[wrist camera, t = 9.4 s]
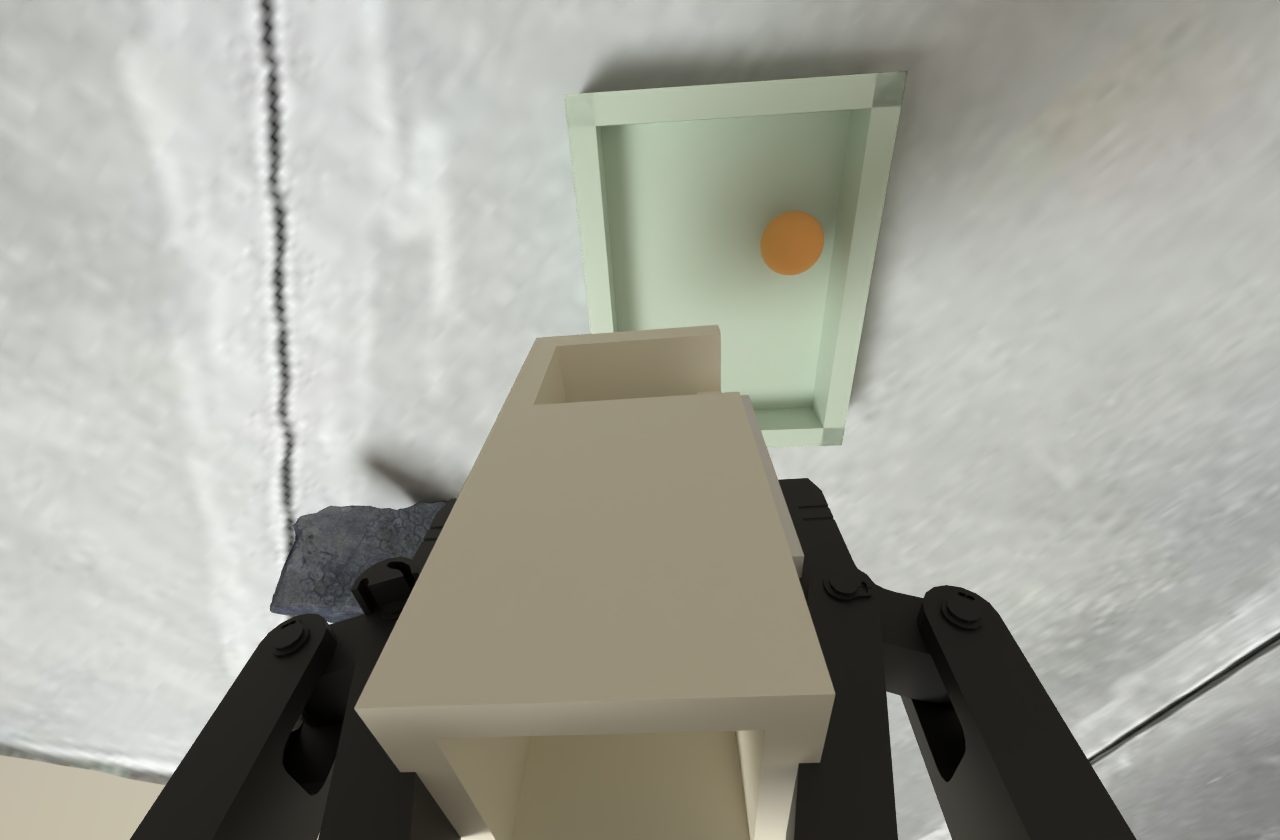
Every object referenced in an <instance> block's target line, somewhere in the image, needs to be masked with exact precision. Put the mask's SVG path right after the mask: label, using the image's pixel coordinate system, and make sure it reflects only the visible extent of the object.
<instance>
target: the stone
mask: <svg viewBox="0 0 1280 840" xmlns="http://www.w3.org/2000/svg"><path fill="white" fill-rule="evenodd" d="M445 504H446V502H444V501H441V502H434V503H431V504H430V503H427V502H419V503H417V504H415V505H413V506H411V507H408V508H404V509H398V510H394V509H391V508H383V509H380V508H375V507H372V506H345V507H337V506H329V507H327V508H325V509H323V510H321V511H319V512H317V513H313V514H308V515H304V516H301V517H299V518H298V520H297V522H296V523H295V524H294V525H293V527H294V530H295V534H296V536H295V542H294V545H293V547H292V549H291V551H290V553H289V555H288V557H287V560H286V562H285V564H284V567H283V569H282V572H281V576H280V579H279V581H278V584H277V587H276V590H275V594H274V595H273V599H272V603H271V605H270V611H271V612H273V613H277V614H282V615H303V614H307V613H312V614H319V615H320V616H322V617H323V618H324V619H325V620H326V621H328V622H330V623H336V622H340V621H343V620H346V619H349V618H353V617H356V616H359V615H362V614H364V612H363V610H362V609H361V607H360V605H359V604H358V602H357V600H356V599H355V597H354V595H353V594H352V592H351V588H352V586H353V584H354V582H355V580H356V579H357V578H358V577H359V576H360V575H361V574H362V573H363V572H364V571H365V570H366V569H368V568H369V567H371V566H373V565H374V564H376V563H378V562H380V561H383V560H385V559H388V558H394V557H405V558H410V559H411V560H412V559H413V557H414V555H415V554H416V552H417V550H418V548H419V546H420V544H421V542H423V538H424V536H425V535H426V533H427V531H428V530H430V525H431V523H432V521H433V519H434V517H435V516H436V514H437V512H438V511H439V510H440V509H441V508H442V507H443V506H444V505H445Z"/></svg>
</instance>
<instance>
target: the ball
mask: <svg viewBox="0 0 1280 840" xmlns="http://www.w3.org/2000/svg"><path fill="white" fill-rule="evenodd" d="M823 246H824V234H823V230H822V228H821V225H820V224H819V222H818V221H817V220H816V219H815V218H814V217H813V216H811V215H810V214H808V213H806V212H802V211H789V212H785V213H782V214H780V215H778V216H777V217H775V218H774V219H773V220H772V221H771V222H770V223H769V224H768V225H767V227H766V228H765V230H764V232H763V235H762V238H761V244H760V249H761V255H762V257H763V260H764V262H765V263H766V265H767V266H768V267H769V268H770V269H771V270H773V271H774V272H776V273H779V274H782V275H797V274H800V273H802V272H805V271H806V270H808V269H809V268H811V267H812V266H813V265H814V264H815V263H816V262H817V260H818V259H819V257H820V255H821V253H822V250H823Z"/></svg>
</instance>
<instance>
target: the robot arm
mask: <svg viewBox="0 0 1280 840" xmlns="http://www.w3.org/2000/svg"><path fill="white" fill-rule="evenodd" d="M741 399H742V402H743V405H744V408H745V411H746V414H747V417H748V421H749V424H750V427H751V430H752V433H753V436H754V439H755V443H756V446H757V449H758V452H759V455H760V458H761V461H762V465H763V468H764V471H765V474H766V477H767V480H768V483H769V487H770V490H771V493H772V496H773V499H774V502H775V505H776V509H777V512H778V515H779V518H780V521H781V524H782V527H783V531H784V534H785V537H786V540H787V543H788V546H789V549H790V553H791V556H792V559H793V562H794V565H795V568H796V571H797V575H798V578H799V581H800V584H801V587H802V590H803V593H804V597H805V600H806V603H807V606H808V609H809V612H810V615H811V619H812V622H813V625H814V628H815V631H816V634H817V637H818V640H819V644H820V647H821V650H822V653H823V656H824V659H825V662H826V666H827V669H828V672H829V675H830V678H831V681H832V684H833V688H834V691H835V699H834V703H833V708H832V712H831V716H830V721H829V725H828V730H827V734H826V738H825V743H824V747H823V752H822V756H821V760H820V763H799V764H798V769H797V775H796V780H795V786H794V792H793V797H792V803H791V808H790V814H789V820H788V825H787V831H786V840H898V834H897V822H896V809H895V797H894V784H893V772H892V759H891V747H890V734H889V722H888V709H887V697H886V691H887V692H891V693H894V694H898V695H901V698H902V701H903V704H904V706H905V709H906V712H907V715H908V717H909V720H910V723H911V726H912V729H913V731H914V734H915V737H916V740H917V743H918V745H919V748H920V751H921V754H922V756H923V759H924V762H925V765H926V768H927V770H928V773H929V776H930V779H931V782H932V784H933V787H934V790H935V793H936V795H937V798H938V801H939V804H940V807H941V809H942V812H943V815H944V818H945V821H946V823H947V826H948V829H949V832H950V834H951V837H952V840H1136V838H1135V836H1134V835H1133V833H1132V832H1131V830H1130V828H1129V827H1128V825H1127V823H1126V822H1125V820H1124V818H1123V817H1122V815H1121V813H1120V812H1119V810H1118V809H1117V807H1116V805H1115V804H1114V802H1113V800H1112V799H1111V797H1110V795H1109V794H1108V792H1107V791H1106V789H1105V787H1104V786H1103V784H1102V782H1101V781H1100V779H1099V777H1098V776H1097V774H1096V772H1095V771H1094V769H1093V768H1092V766H1091V764H1090V763H1089V761H1088V759H1087V758H1086V756H1085V754H1084V753H1083V751H1082V750H1081V748H1080V746H1079V745H1078V743H1077V741H1076V740H1075V738H1074V736H1073V735H1072V733H1071V731H1070V730H1069V728H1068V727H1067V725H1066V723H1065V722H1064V720H1063V718H1062V717H1061V715H1060V713H1059V712H1058V710H1057V709H1056V707H1055V705H1054V704H1053V702H1052V700H1051V699H1050V697H1049V695H1048V694H1047V692H1046V690H1045V689H1044V687H1043V686H1042V684H1041V682H1040V681H1039V679H1038V677H1037V676H1036V674H1035V672H1034V671H1033V669H1032V668H1031V666H1030V664H1029V663H1028V661H1027V659H1026V658H1025V656H1024V654H1023V653H1022V651H1021V649H1020V648H1019V646H1018V645H1017V643H1016V641H1015V640H1014V638H1013V636H1012V635H1011V633H1010V631H1009V630H1008V628H1007V627H1006V625H1005V623H1004V622H1003V620H1002V618H1001V617H1000V615H999V614H998V612H997V611H996V610H995V609H994V608H993V607H992V605H991V604H990V603H989V602H987V601H986V600H985V599H983V598H982V597H980V596H979V595H977V594H976V593H973V592H971V591H969V590H966V589H964V588H961V587H955V586H948V585H945V586H938V587H934V588H932V589H931V590H929V591H928V592H926V594H925V596H924V598H920V597H915V596H910V595H906V594H901V593H897V592H893V591H890V590H887V589H884V588H882V587H880V586H878V585H876V584H874V582H873V581H872V580H871V579H870V578H869V577H868V575H867V574H865V573H864V572H862V571H860V570H859V569H857V567H856V566H855V564H854V562H853V560H852V557H851V555H850V553H849V551H848V549H847V546H846V544H845V542H844V540H843V537H842V535H841V533H840V531H839V529H838V526H837V524H836V522H835V520H834V519H833V515H832V513H831V511H830V509H829V508H828V504H827V502H826V500H825V497H824V495H823V493H822V491H821V490H820V489H819V488H818V487H817V486H816V485H815V484H814V483H813V482H811V481H810V480H809V479H808V478H802V479H784V480H778V479H777V476H776V473H775V470H774V467H773V464H772V461H771V458H770V455H769V453H768V450H767V447H766V444H765V441H764V438H763V435H762V432H761V429H760V427H759V424H758V421H757V418H756V415H755V412H754V409H753V406H752V403H751V400H750V398H749V395H741ZM456 500H457V499H451V500H450V501H449V502H448V503H446V504H445V505H444V506H443V507H442V508H441V509H440V510H439V511H438V512H437V514H436V516H435V517H434V519H433V521H432V523H431V525H430V530H428V531H427V533H426V535H425V536H424V538H423V542H421V544H420V546H419V548H418V550H417V552H416V554H415V555H414V557H413V559H412V560H411V559H410V558H405V557H394V558H388V559H385V560H383V561H380V562H378V563H376V564H374V565H373V566H371V567H369V568H368V569H366V570H365V571H364V572H363V573H362V574H361V575H360V576H359V577H358V578H357V579H356V580H355V582H354V584H353V586H352V588H351V592H352V594H353V595H354V597H355V599H356V600H357V602H358V604H359V605H360V607H361V609H362V610H363V612H364V614H362V615H359V616H356V617H353V618H349V619H346V620H343V621H340V622H336V623H333V624H330V625H329V624H328V623H327V621H326V620H325V619H324V618H323V617H322V616H320V615H319V614H312V613H307V614H303V615H298V616H295V617H293V618H291V619H289V620H287V621H285V622H283V623H281V624H280V625H278V626H277V627H276V628H274V629H273V630H272V631H271V632H269V633H268V634H267V636H266V637H265V638H264V639H263V640H262V641H261V643H260V644H259V645H258V647H257V648H256V650H255V651H254V653H253V654H252V656H251V657H250V659H249V660H248V662H247V663H246V665H245V666H244V668H243V669H242V671H241V672H240V674H239V675H238V677H237V679H236V680H235V682H234V683H233V685H232V686H231V688H230V689H229V691H228V692H227V694H226V695H225V697H224V698H223V700H222V701H221V703H220V704H219V706H218V707H217V709H216V710H215V712H214V713H213V715H212V716H211V718H210V719H209V721H208V722H207V724H206V725H205V727H204V728H203V730H202V731H201V733H200V734H199V736H198V737H197V739H196V740H195V742H194V743H193V745H192V746H191V748H190V749H189V751H188V753H187V754H186V756H185V757H184V759H183V760H182V762H181V763H180V765H179V766H178V768H177V769H176V771H175V772H174V774H173V775H172V777H171V778H170V780H169V781H168V783H167V784H166V786H165V787H164V789H163V790H162V792H161V793H160V795H159V796H158V798H157V799H156V801H155V802H154V804H153V805H152V807H151V809H150V810H149V811H148V813H147V814H146V816H145V817H144V819H143V821H142V822H141V824H140V825H139V826H138V828H137V830H136V831H135V833H134V834H133V836H132V837H131V839H130V840H317V837H318V835H319V839H318V840H461V837H460V836H459V834H458V833H457V831H456V830H455V828H454V827H453V825H452V824H451V823H450V821H449V820H448V818H447V817H446V815H445V814H444V812H443V811H442V810H441V808H440V807H439V805H438V804H437V802H436V801H435V799H434V798H433V797H432V795H431V794H430V792H429V791H428V789H427V788H426V786H425V785H424V784H423V782H422V781H421V779H420V778H419V776H418V775H417V773H416V772H400V771H399V770H398V768H397V767H396V765H395V764H394V763H393V761H392V760H391V759H390V757H389V756H388V755H387V753H386V752H385V750H384V749H383V748H382V746H381V745H380V744H379V742H378V741H377V739H376V738H375V737H374V735H373V734H372V733H371V731H370V730H369V728H368V727H367V726H366V724H365V723H364V722H363V720H362V719H361V717H360V716H359V715H358V713H357V712H356V711H355V709H354V708H355V706H356V704H357V702H358V699H359V697H360V695H361V693H362V691H363V689H364V687H365V685H366V683H367V681H368V679H369V677H370V675H371V673H372V671H373V669H374V667H375V665H376V663H377V661H378V659H379V657H380V655H381V653H382V651H383V649H384V647H385V645H386V643H387V641H388V639H389V636H390V634H391V632H392V630H393V628H394V626H395V624H396V622H397V620H398V618H399V616H400V614H401V612H402V610H403V608H404V606H405V604H406V602H407V600H408V598H409V596H410V594H411V592H412V590H413V588H414V586H415V584H416V582H417V580H418V578H419V576H420V573H421V571H422V569H423V567H424V565H425V563H426V561H427V559H428V557H429V555H430V553H431V551H432V549H433V547H434V545H435V543H436V541H437V539H438V537H439V535H440V533H441V531H442V529H443V527H444V525H445V523H446V521H447V519H448V517H449V515H450V513H451V510H452V508H453V506H454V504H455V502H456ZM319 833H320V834H319Z"/></svg>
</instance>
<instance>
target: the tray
mask: <svg viewBox="0 0 1280 840" xmlns="http://www.w3.org/2000/svg"><path fill="white" fill-rule="evenodd" d="M906 76H907V71H898V72H884V73H869V74H855V75H840V76H826V77H811V78H797V79H783V80H768V81H754V82H739V83H725V84H710V85H696V86H681V87H667V88H652V89H638V90H623V91H609V92H594V93H580V94H566V95H564V97H565V106H566V115H567V124H568V133H569V142H570V151H571V160H572V169H573V179H574V188H575V197H576V206H577V215H578V224H579V233H580V242H581V251H582V260H583V269H584V278H585V287H586V296H587V305H588V314H589V323H590V332H591V334H597V333H611V332H625V331H638V330H652V329H665V328H679V327H693V326H706V325H718V326H719V329H720V333H721V393H725V392H740V395H749V398H750V400H751V403H752V406H753V409H754V412H755V415H756V418H757V421H758V424H759V427H760V429H761V432H762V435H763V438H764V441H765V444H766V447H796V446H828V445H842V440H843V435H844V429H845V423H846V418H847V412H848V406H849V401H850V395H851V389H852V383H853V378H854V372H855V366H856V361H857V355H858V349H859V344H860V338H861V332H862V327H863V321H864V315H865V309H866V304H867V298H868V292H869V287H870V281H871V275H872V270H873V264H874V258H875V253H876V247H877V241H878V236H879V230H880V224H881V218H882V213H883V207H884V201H885V196H886V190H887V184H888V179H889V173H890V167H891V162H892V156H893V150H894V144H895V139H896V133H897V127H898V122H899V116H900V110H901V105H902V99H903V93H904V88H905V82H906ZM789 211H802V212H806V213H808V214H810V215H811V216H813V217H814V218H815V219H816V220H817V221H818V222H819V224H820V225H821V228H822V230H823V234H824V246H823V250H822V253H821V255H820V257H819V259H818V260H817V262H816V263H815V264H814V265H813V266H812V267H811V268H809V269H808V270H806V271H805V272H802V273H800V274H797V275H782V274H779V273H776V272H774V271H773V270H771V269H770V268H769V267H768V266H767V265H766V263H765V262H764V260H763V257H762V255H761V249H760V244H761V238H762V235H763V232H764V230H765V228H766V227H767V225H768V224H769V223H770V222H771V221H772V220H773V219H774V218H775V217H777V216H778V215H780V214H782V213H785V212H789Z"/></svg>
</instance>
